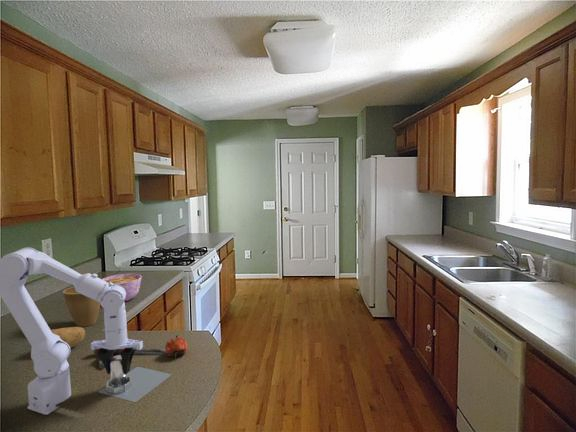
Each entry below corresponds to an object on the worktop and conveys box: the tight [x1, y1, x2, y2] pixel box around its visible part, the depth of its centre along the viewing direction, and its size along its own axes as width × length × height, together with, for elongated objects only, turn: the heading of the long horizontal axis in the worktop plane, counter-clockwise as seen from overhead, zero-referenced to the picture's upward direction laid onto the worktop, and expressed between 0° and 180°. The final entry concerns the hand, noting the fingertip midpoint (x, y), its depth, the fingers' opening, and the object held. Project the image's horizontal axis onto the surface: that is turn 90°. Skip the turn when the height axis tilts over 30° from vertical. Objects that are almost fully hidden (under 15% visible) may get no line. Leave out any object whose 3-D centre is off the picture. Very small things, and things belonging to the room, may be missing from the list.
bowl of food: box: [101, 273, 143, 303], centre depth 185 cm, size 20×20×12 cm
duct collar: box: [105, 375, 132, 395], centre depth 104 cm, size 7×7×2 cm
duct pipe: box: [110, 354, 128, 385], centre depth 103 cm, size 5×4×7 cm
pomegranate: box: [164, 335, 188, 360], centre depth 123 cm, size 7×7×10 cm
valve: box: [92, 348, 166, 369], centre depth 123 cm, size 6×26×15 cm
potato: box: [50, 326, 86, 349], centre depth 130 cm, size 10×14×8 cm
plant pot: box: [62, 286, 101, 328], centre depth 154 cm, size 15×15×16 cm
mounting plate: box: [98, 366, 172, 403], centre depth 106 cm, size 15×14×1 cm
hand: (118, 372), depth 103 cm, fingers closed on duct pipe, 4 cm apart
